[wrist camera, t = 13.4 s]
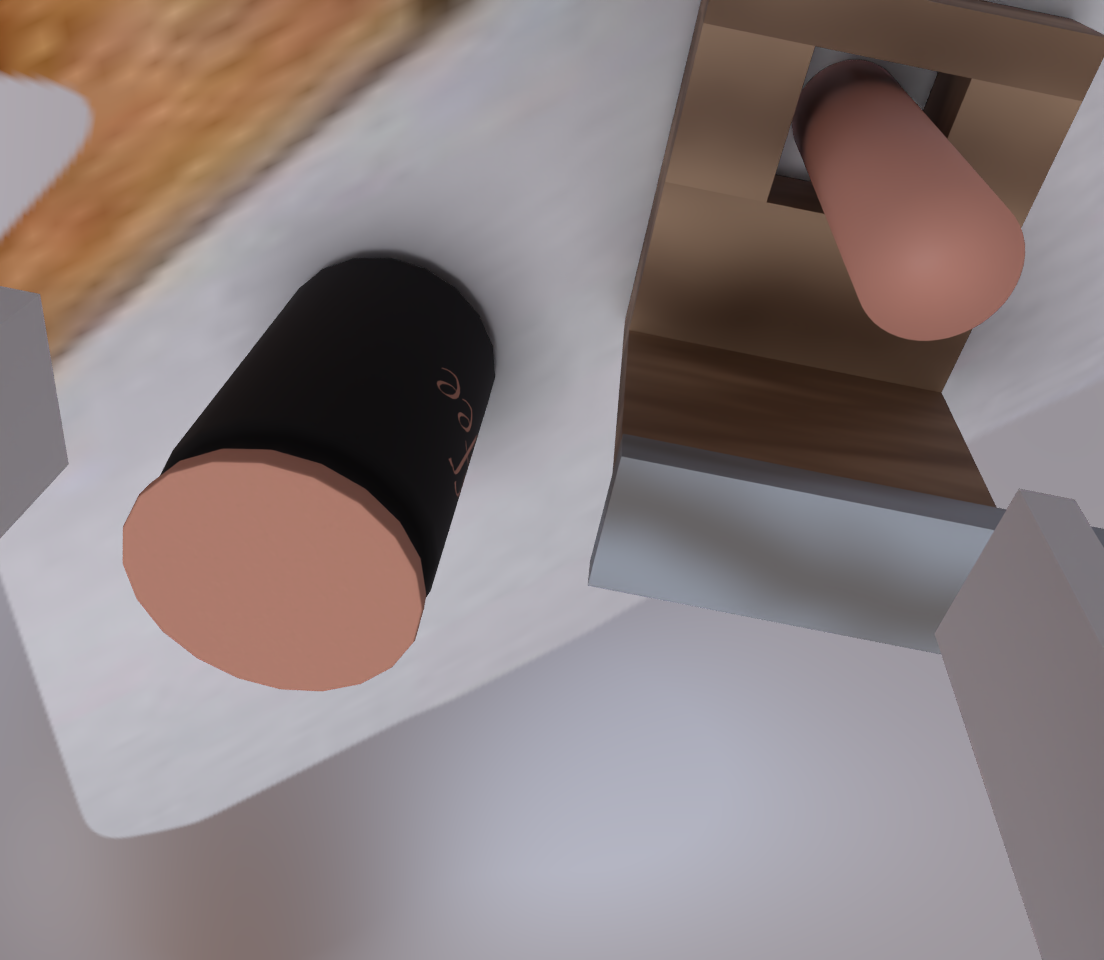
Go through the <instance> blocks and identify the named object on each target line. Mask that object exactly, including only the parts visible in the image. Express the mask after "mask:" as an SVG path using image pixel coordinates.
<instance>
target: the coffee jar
mask: <svg viewBox="0 0 1104 960" xmlns="http://www.w3.org/2000/svg"><path fill="white" fill-rule="evenodd" d="M494 379H495V371H494V359H493V347H492V344H491V342H490V340H489V337H488V335H487V333H486V331H485V328H484V326H483V324H482V322H481V319H480V317H479V315H478V314H477V312H476V311H475V310H474V309H473V308H472V307H471V305H470V304H469V303H468V302H467V301H466V300H465V299H464V297H463V296H462V295H461V294H460V293H459V292H458V290H457V289H456V288H455V287H453V286H452V285H450V284H449V283H447V282H445V281H444V280H442V279H441V278H439V277H438V276H436V275H435V274H433V273H432V272H430V271H429V270H427V269H425V268H422V267H419V266H415V265H412V264H409V263H405V262H402V261H399V260H396V259H392V258H354V259H351V260H348V261H345V262H342V263H339V264H336V265H333V266H330V267H327V268H324V269H322V270H321V271H320V272H319V273H317V274H316V275H315V276H314V277H313V278H311V279H310V280H309V281H308V282H306V283H305V284H304V285H303V286H302V287H300V288H299V289H298V291H297V292H296V293H295V294H294V296H293V297H292V298H291V300H290V301H289V302H288V303H287V305H286V306H285V307H284V309H283V310H282V311H281V312H280V314H279V315H278V316H277V318H276V319H275V320H274V321H273V323H272V324H271V325H270V327H269V328H268V329H267V330H266V332H265V333H264V334H263V335H262V337H261V338H260V339H259V341H258V342H257V343H256V344H255V346H254V347H253V348H252V350H251V351H250V352H249V353H248V355H247V356H246V357H245V359H244V360H243V361H242V362H241V364H240V365H239V366H238V368H237V369H236V370H235V371H234V373H233V374H232V375H231V377H230V378H229V379H228V380H227V382H226V383H225V384H224V386H223V387H222V388H221V389H220V391H219V392H218V393H217V395H216V396H215V397H214V398H213V400H212V401H211V402H210V403H209V405H208V406H207V407H206V409H205V410H204V411H203V412H202V414H201V415H200V416H199V418H198V419H197V420H196V421H195V423H194V424H193V425H192V427H191V428H190V429H189V430H188V432H187V433H186V434H185V436H184V437H183V438H182V439H181V441H180V442H179V443H178V445H177V446H176V447H175V448H174V450H173V451H172V453H171V455H170V457H169V459H168V461H167V463H166V465H165V467H164V469H163V471H162V473H161V475H160V476H159V477H158V478H157V479H155V480H154V481H153V482H152V483H150V484H149V485H148V486H147V487H146V488H145V489H144V490H143V491H142V492H141V493H140V494H139V496H138V498H137V500H136V502H135V504H134V506H133V508H132V510H131V512H130V514H129V516H128V518H127V520H126V522H125V524H124V526H123V565H124V568H125V571H126V573H127V576H128V578H129V581H130V583H131V586H132V588H133V591H134V593H135V596H136V598H137V600H138V601H139V602H140V604H141V605H142V606H143V607H144V609H145V610H146V611H147V612H148V614H149V615H150V616H151V617H152V619H153V620H154V621H155V622H156V624H157V625H158V626H159V627H160V629H161V630H162V631H163V632H164V633H165V634H167V635H168V636H169V637H171V638H172V639H173V640H174V641H176V642H177V643H178V644H180V645H181V646H182V647H183V648H185V649H186V650H187V651H189V652H190V653H191V654H192V655H194V656H195V657H196V658H198V659H200V660H202V661H204V662H206V663H208V664H210V665H212V666H214V667H216V668H218V669H220V670H222V671H224V672H226V673H229V674H231V675H233V676H235V677H237V678H240V679H244V680H247V681H251V682H255V683H259V684H263V685H266V686H270V687H274V688H278V689H287V690H307V691H326V690H331V689H337V688H342V687H347V686H352V685H357V684H361V683H363V682H365V681H367V680H369V679H371V678H373V677H374V676H376V675H378V674H380V673H382V672H384V671H386V670H388V669H390V668H391V667H393V665H394V664H395V663H396V662H397V661H398V660H399V658H400V657H401V656H402V655H403V654H404V653H405V651H406V650H407V649H408V648H409V647H410V646H411V644H412V643H413V642H414V641H415V639H416V635H417V631H418V628H419V624H420V620H421V617H422V613H423V610H424V605H425V599H426V597H427V595H428V594H429V592H430V591H431V588H432V584H433V581H434V578H435V575H436V571H437V568H438V565H439V561H440V558H441V555H442V552H443V548H444V545H445V542H446V538H447V535H448V532H449V529H450V525H451V522H452V519H453V515H454V512H455V509H456V506H457V502H458V499H459V496H460V492H461V489H462V486H463V483H464V479H465V476H466V473H467V469H468V466H469V463H470V460H471V456H472V453H473V450H474V446H475V443H476V440H477V437H478V433H479V430H480V427H481V423H482V420H483V417H484V414H485V410H486V407H487V404H488V400H489V397H490V393H491V389H492V386H493V382H494Z"/></svg>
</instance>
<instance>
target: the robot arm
mask: <svg viewBox="0 0 1104 960" xmlns="http://www.w3.org/2000/svg"><path fill="white" fill-rule="evenodd" d="M67 465H68V458H67V452H66V446H65V440H64V434H63V428H62V422H61V416H60V410H59V404H58V399H57V393H56V387H55V381H54V375H53V369H52V363H51V357H50V351H49V345H48V339H47V333H46V327H45V321H44V315H43V309H42V304H41V298H40V294H37V293H32V292H27V291H22V290H17V289H12V288H7V287H2V286H0V538H1V537H2V536H3V535H4V534H5V533H6V531H7V530H8V529H9V528H10V527H11V526H12V525H13V524H14V523H15V522H16V521H17V520H18V518H19V517H20V516H21V515H22V514H23V513H24V512H25V511H26V510H27V509H28V508H29V507H30V505H31V504H32V503H33V502H34V501H35V500H36V499H37V498H38V497H39V496H40V495H41V494H42V492H43V491H44V490H45V489H46V488H47V487H48V486H49V485H50V484H51V483H52V482H53V481H54V480H55V478H56V477H57V476H58V475H59V474H60V473H61V472H62V471H63V470H64V469H65V468H66V467H67ZM935 637H936V640H937V643H938V646H939V649H940V652H941V655H942V658H943V661H944V664H945V667H946V670H947V673H948V676H949V679H950V682H951V685H952V688H953V691H954V694H955V697H956V700H957V703H958V706H959V709H960V712H961V715H962V718H963V721H964V724H965V727H966V730H967V733H968V736H969V740H970V743H971V746H972V749H973V751H974V755H975V758H976V761H977V764H978V767H979V769H980V773H981V776H982V779H983V782H984V785H985V788H986V791H987V794H988V797H989V800H990V803H991V806H992V809H993V812H994V815H995V818H996V821H997V824H998V827H999V830H1000V833H1001V836H1002V839H1003V842H1004V846H1005V848H1006V852H1007V854H1008V858H1009V861H1010V864H1011V867H1012V870H1013V873H1014V876H1015V879H1016V882H1017V885H1018V888H1019V891H1020V894H1021V897H1022V900H1023V903H1024V906H1025V909H1026V912H1027V915H1028V918H1029V921H1030V924H1031V927H1032V930H1033V933H1034V936H1035V939H1036V942H1037V945H1038V949H1039V952H1040V954H1041V957H1042V960H1104V547H1103V546H1102V544H1101V542H1100V541H1099V539H1098V537H1097V536H1096V534H1095V532H1094V531H1093V529H1092V527H1091V526H1090V524H1089V523H1088V521H1087V519H1086V517H1085V516H1084V514H1083V512H1082V511H1081V509H1080V507H1079V506H1078V504H1077V502H1076V501H1075V500H1074V499H1069V498H1064V497H1059V496H1054V495H1048V494H1044V493H1039V492H1034V491H1029V490H1023V489H1018V491H1017V493H1016V494H1015V496H1014V498H1013V500H1012V501H1011V503H1010V505H1009V506H1008V508H1007V510H1006V512H1005V513H1004V515H1003V517H1002V518H1001V520H1000V522H999V524H998V525H997V527H996V529H995V530H994V532H993V534H992V536H991V537H990V539H989V541H988V542H987V544H986V546H985V548H984V549H983V551H982V553H981V554H980V556H979V558H978V560H977V561H976V563H975V565H974V567H973V568H972V570H971V572H970V573H969V575H968V577H967V579H966V580H965V582H964V584H963V585H962V587H961V589H960V591H959V592H958V594H957V596H956V597H955V599H954V601H953V603H952V604H951V606H950V608H949V609H948V611H947V613H946V615H945V616H944V618H943V620H942V622H941V623H940V625H939V627H938V628H937V630H936V632H935Z"/></svg>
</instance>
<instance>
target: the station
mask: <svg viewBox="0 0 1104 960" xmlns="http://www.w3.org/2000/svg"><path fill="white" fill-rule="evenodd" d="M815 46H817V47H822V48H827V49H831V50H836V51H841V52H846V53H851V54H856V55H860V56H865V57H870V58H875V59H880V60H885V61H889V62H894V63H899V64H904V65H909V66H914V67H918V68H923V69H928V70H933V71H938V75H937V78H936V80H935V83H934V85H933V88H932V90H931V93H930V96H929V98H928V101H927V103H926V106H925V108H924V111H923V112H924V113H925V114H926V115H927V116H928V118H929V119H930V120H931V121H932V122H933V123H934V124H935V126H936V127H937V128H938V129H939V130H940V131H941V132H942V133H943V135H944V136H945V137H946V138H947V139H948V140H949V141H950V143H951V144H952V145H953V146H954V147H955V148H956V149H957V151H958V152H959V153H960V154H961V155H962V156H963V157H964V159H965V160H966V161H967V162H968V163H969V164H970V165H971V166H972V168H973V169H974V170H975V171H976V172H977V173H978V174H979V176H980V177H981V178H982V179H983V180H984V181H985V182H986V184H987V185H988V186H989V187H990V188H991V189H992V190H993V192H994V193H995V194H996V195H997V196H998V197H999V198H1000V199H1001V201H1002V202H1003V203H1004V204H1005V205H1006V206H1007V207H1008V209H1009V210H1010V211H1011V212H1012V214H1013V215H1014V216H1015V217H1016V219H1017V221H1018V223H1019V225H1020V227H1022V225H1023V223H1024V221H1025V219H1026V217H1027V215H1028V213H1029V211H1030V209H1031V207H1032V204H1033V202H1034V200H1035V198H1036V196H1037V194H1038V192H1039V190H1040V188H1041V186H1042V184H1043V182H1044V180H1045V178H1046V176H1047V173H1048V171H1049V169H1050V167H1051V165H1052V163H1053V161H1054V159H1055V157H1056V155H1057V153H1058V151H1059V149H1060V147H1061V145H1062V142H1063V140H1064V138H1065V136H1066V134H1067V132H1068V130H1069V128H1070V126H1071V124H1072V122H1073V120H1074V118H1075V116H1076V114H1077V112H1078V109H1079V107H1080V105H1081V103H1082V101H1083V99H1084V97H1085V95H1086V93H1087V91H1088V89H1089V87H1090V85H1091V83H1092V81H1093V78H1094V76H1095V74H1096V72H1097V70H1098V68H1099V66H1100V64H1101V62H1102V60H1103V58H1104V35H1103V34H1101V33H1099V32H1097V31H1095V30H1093V29H1091V28H1089V27H1087V26H1085V25H1083V24H1081V23H1079V22H1077V21H1075V20H1073V19H1069V18H1064V17H1059V16H1055V15H1050V14H1045V13H1040V12H1035V11H1031V10H1026V9H1021V8H1016V7H1011V6H1007V5H1002V4H997V3H992V2H987V1H982V0H701V4H700V8H699V12H698V16H697V20H696V25H695V29H694V33H693V37H692V41H691V46H690V50H689V54H688V58H687V62H686V67H685V71H684V75H683V79H682V83H681V88H680V92H679V96H678V100H677V104H676V109H675V113H674V117H673V121H672V125H671V130H670V134H669V138H668V142H667V146H666V150H665V155H664V159H663V163H662V167H661V171H660V176H659V180H658V184H657V188H656V192H655V197H654V201H653V205H652V209H651V213H650V218H649V222H648V226H647V230H646V234H645V239H644V243H643V247H642V251H641V255H640V260H639V264H638V268H637V272H636V276H635V281H634V285H633V289H632V293H631V297H630V302H629V306H628V310H627V314H626V318H625V326H624V339H623V351H622V364H621V376H620V388H619V401H618V413H617V426H616V438H615V451H614V463H613V474H612V478H611V482H610V486H609V490H608V494H607V498H606V501H605V505H604V509H603V513H602V517H601V521H600V525H599V529H598V533H597V536H596V540H595V544H594V548H593V552H592V556H591V560H590V568H589V578H588V586H593V587H598V588H603V589H608V590H613V591H619V592H624V593H629V594H634V595H639V596H644V597H649V598H655V599H660V600H665V601H670V602H675V603H680V604H685V605H690V606H695V607H700V608H706V609H711V610H716V611H721V612H726V613H731V614H737V615H741V616H747V617H752V618H757V619H762V620H767V621H772V622H778V623H783V624H788V625H793V626H798V627H803V628H808V629H814V630H818V631H824V632H829V633H834V634H839V635H844V636H850V637H855V638H860V639H864V640H870V641H875V642H880V643H885V644H891V645H895V646H900V647H906V648H911V649H916V650H921V651H926V652H931V653H936V654H941V652H940V649H939V646H938V643H937V640H936V637H935V632H936V630H937V628H938V627H939V625H940V623H941V622H942V620H943V618H944V616H945V615H946V613H947V611H948V609H949V608H950V606H951V604H952V603H953V601H954V599H955V597H956V596H957V594H958V592H959V591H960V589H961V587H962V585H963V584H964V582H965V580H966V579H967V577H968V575H969V573H970V572H971V570H972V568H973V567H974V565H975V563H976V561H977V560H978V558H979V556H980V554H981V553H982V551H983V549H984V548H985V546H986V544H987V542H988V541H989V539H990V537H991V536H992V534H993V532H994V530H995V529H996V527H997V525H998V524H999V522H1000V520H1001V518H1002V517H1003V515H1004V513H1005V512H1006V510H1005V509H1001V508H997V507H996V505H995V503H994V501H993V499H992V497H991V495H990V493H989V491H988V489H987V487H986V484H985V483H984V480H983V478H982V476H981V474H980V472H979V470H978V468H977V466H976V464H975V462H974V460H973V458H972V455H971V453H970V451H969V449H968V447H967V445H966V443H965V441H964V439H963V437H962V435H961V432H960V430H959V428H958V426H957V424H956V422H955V420H954V418H953V416H952V414H951V412H950V410H949V407H948V405H947V403H946V401H945V399H944V397H943V395H942V393H941V392H942V390H943V388H944V386H945V384H946V382H947V380H948V378H949V376H950V374H951V372H952V370H953V368H954V366H955V364H956V362H957V359H958V357H959V355H960V353H961V351H962V349H963V347H964V345H965V343H966V341H967V339H968V337H969V335H970V333H971V331H972V329H970V330H968V331H966V332H964V333H961V334H959V335H956V336H953V337H949V338H945V339H940V340H931V341H917V340H909V339H905V338H901V337H898V336H895V335H893V334H890V333H888V332H887V331H885V330H883V329H881V328H880V327H879V326H878V325H876V324H875V323H874V322H873V321H872V320H871V319H870V318H869V317H868V315H867V314H866V312H865V311H864V309H863V308H862V305H861V303H860V301H859V299H858V296H857V294H856V291H855V289H854V286H853V284H852V281H851V279H850V276H849V274H848V271H847V269H846V266H845V264H844V261H843V259H842V256H841V254H840V251H839V249H838V246H837V244H836V241H835V239H834V236H833V234H832V231H831V229H830V226H829V224H828V221H827V219H826V216H825V214H824V211H823V209H822V207H821V204H820V202H819V199H818V197H817V194H816V192H815V189H814V187H813V184H812V182H808V181H803V180H799V179H794V178H789V177H784V176H779V175H775V173H776V170H777V167H778V164H779V160H780V157H781V154H782V151H783V148H784V144H785V141H786V138H787V135H788V131H789V128H790V125H791V122H792V119H793V115H794V112H795V109H796V106H797V103H798V99H799V96H800V93H801V90H802V87H803V83H804V80H805V77H806V74H807V70H808V67H809V64H810V61H811V58H812V54H813V51H814V48H815ZM1092 529H1093V531H1094V532H1095V534H1096V536H1097V537H1098V539H1099V541H1100V542H1101V544H1102V546H1103V547H1104V529H1101V528H1096V527H1092Z"/></svg>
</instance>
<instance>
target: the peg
mask: <svg viewBox="0 0 1104 960" xmlns="http://www.w3.org/2000/svg"><path fill="white" fill-rule="evenodd" d="M792 129H793V135H794V139H795V142H796V144H797V147H798V149H799V152H800V154H801V157H802V159H803V162H804V164H805V167H806V169H807V172H808V174H809V177H810V179H811V182H812V184H813V187H814V189H815V192H816V194H817V197H818V199H819V202H820V204H821V207H822V209H823V211H824V214H825V216H826V219H827V221H828V224H829V226H830V229H831V231H832V234H833V236H834V239H835V241H836V244H837V246H838V249H839V251H840V254H841V256H842V259H843V261H844V264H845V266H846V269H847V271H848V274H849V276H850V279H851V281H852V284H853V286H854V289H855V291H856V294H857V296H858V299H859V301H860V303H861V305H862V308H863V309H864V311H865V312H866V314H867V315H868V317H869V318H870V319H871V320H872V321H873V322H874V323H875V324H876V325H878V326H879V327H880V328H881V329H883V330H885V331H887V332H888V333H890V334H893V335H895V336H898V337H901V338H905V339H909V340H917V341H931V340H940V339H945V338H949V337H953V336H956V335H959V334H961V333H964V332H966V331H968V330H970V329H972V328H974V327H976V326H978V325H979V324H981V323H982V322H984V321H985V320H987V319H988V318H989V317H990V316H992V315H993V314H994V313H995V312H996V311H997V310H998V309H999V308H1000V307H1001V306H1002V305H1003V304H1004V303H1005V301H1006V300H1007V299H1008V297H1009V296H1010V295H1011V293H1012V292H1013V290H1014V288H1015V286H1016V285H1017V282H1018V280H1019V278H1020V275H1021V272H1022V269H1023V265H1024V258H1025V242H1024V237H1023V233H1022V230H1021V227H1020V225H1019V223H1018V221H1017V219H1016V217H1015V216H1014V215H1013V214H1012V212H1011V211H1010V210H1009V209H1008V207H1007V206H1006V205H1005V204H1004V203H1003V202H1002V201H1001V199H1000V198H999V197H998V196H997V195H996V194H995V193H994V192H993V190H992V189H991V188H990V187H989V186H988V185H987V184H986V182H985V181H984V180H983V179H982V178H981V177H980V176H979V174H978V173H977V172H976V171H975V170H974V169H973V168H972V166H971V165H970V164H969V163H968V162H967V161H966V160H965V159H964V157H963V156H962V155H961V154H960V153H959V152H958V151H957V149H956V148H955V147H954V146H953V145H952V144H951V143H950V141H949V140H948V139H947V138H946V137H945V136H944V135H943V133H942V132H941V131H940V130H939V129H938V128H937V127H936V126H935V124H934V123H933V122H932V121H931V120H930V119H929V118H928V116H927V115H926V114H925V113H924V112H923V111H922V110H921V108H920V107H919V106H918V105H917V104H916V103H915V102H914V100H913V99H912V98H911V97H910V96H909V95H908V94H907V93H906V91H905V90H904V89H903V88H902V87H901V86H900V85H899V83H898V82H897V81H896V80H895V79H894V78H893V77H892V75H891V74H890V73H889V72H888V71H886V70H885V69H884V68H882V67H881V66H879V65H877V64H875V63H873V62H869V61H865V60H846V61H842V62H838V63H835V64H833V65H830V66H828V67H827V68H825V69H823V70H822V71H820V72H819V73H818V74H816V75H815V76H814V77H813V78H812V79H811V80H810V81H809V82H808V83H807V85H806V86H805V87H804V89H803V90H802V92H801V93H800V96H799V99H798V103H797V106H796V109H795V112H794V115H793V119H792Z"/></svg>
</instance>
